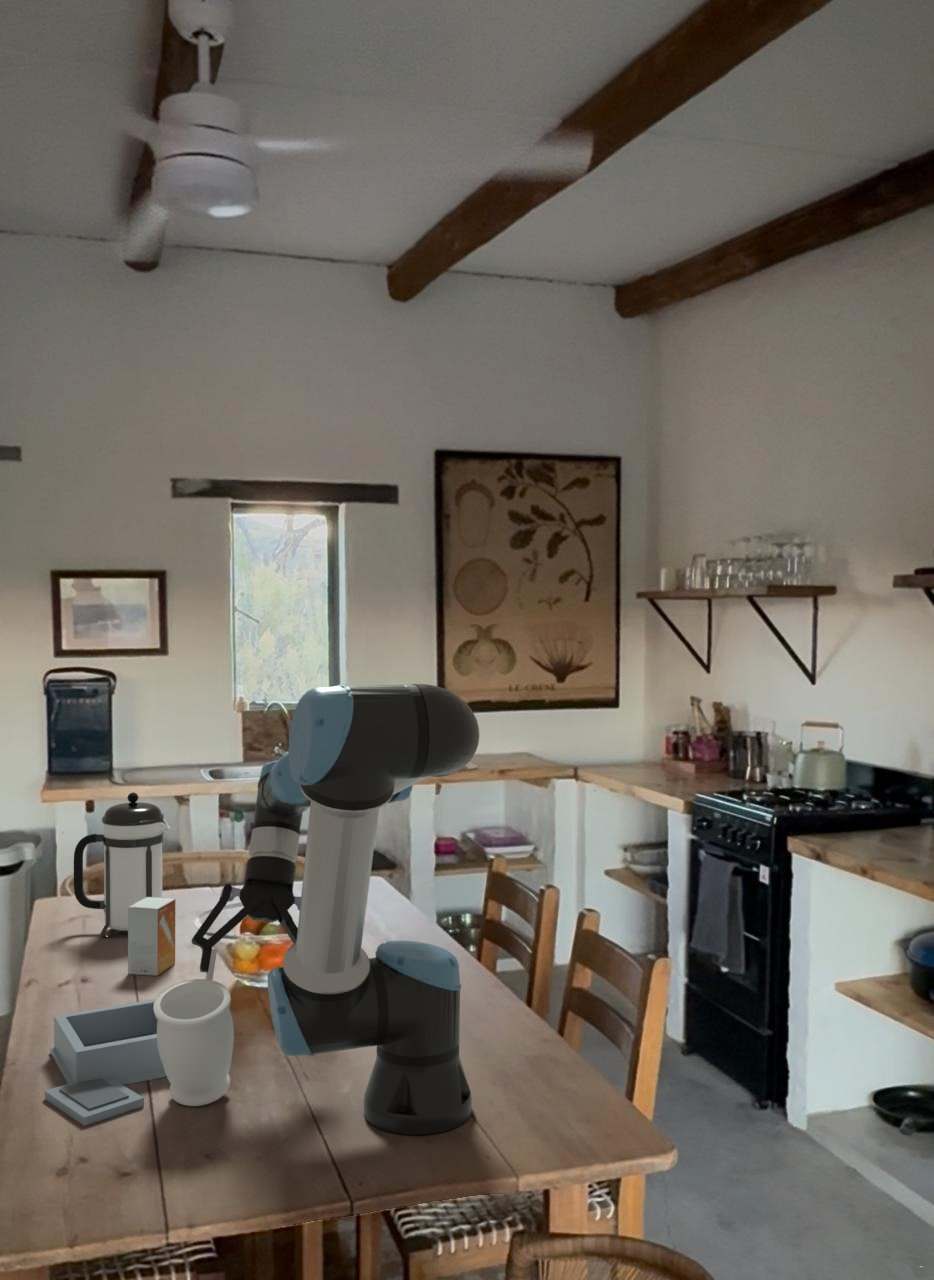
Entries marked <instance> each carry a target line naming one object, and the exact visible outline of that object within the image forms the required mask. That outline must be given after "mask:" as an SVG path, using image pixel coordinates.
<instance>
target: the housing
mask: <svg viewBox="0 0 934 1280" xmlns="http://www.w3.org/2000/svg"><path fill="white" fill-rule="evenodd" d="M155 1000H156V998H152V999H146V1000H142V1001H141V1000H140V1001H135V1002H134V1001H133V1002H128V1003H123V1004H116V1005H111V1006H105V1007H99V1008H98V1007H97V1008H93V1009H86V1010H80V1011H74V1012H69V1013H62V1014H55V1015H53V1027H54V1028H53V1045H51V1046H49V1047H50V1048H49V1051H50V1054H51V1057H52V1058H53V1060H54V1062H55V1063H56V1066H57V1067H58V1069H59V1071H60V1073H61V1074H62V1076H63V1078H64V1080H65V1082H66V1084H69V1083H72V1082H75V1083H76V1084H77V1083H80V1082H84V1081H89V1080H94V1079H99V1078H101V1079H103V1080H105V1079H110V1078H112V1079H113V1080H115V1081H117V1082H118V1083H120V1084H122V1085H123V1086H126V1085H132V1084H136V1083H141V1082H146V1081H151V1080H157V1079H161V1078H167V1077H166V1074H165V1071H164V1067H163V1063H162V1061H161V1058H160V1055H159V1051H158V1045H157V1022H158V1020H157V1018H156V1016H155V1013H154V1002H155Z"/></svg>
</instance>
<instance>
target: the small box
mask: <svg viewBox="0 0 934 1280" xmlns="http://www.w3.org/2000/svg"><path fill="white" fill-rule="evenodd" d="M176 900H177V899H176V898H169V897H168V898H167V897H162V898H156V897H146V898H144V899H143V900H141V901H138V902H136V903H135V904H133V905H132V906H130V907H128V931H127V974H129V975H138V976H139V975H140V976H154V977H155V976H159V975H161V974H162V973H163V972H165V971H166V970H168V969H169V968H171V967H172V966H174V965H175V964H176ZM173 964H174V965H173Z"/></svg>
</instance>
